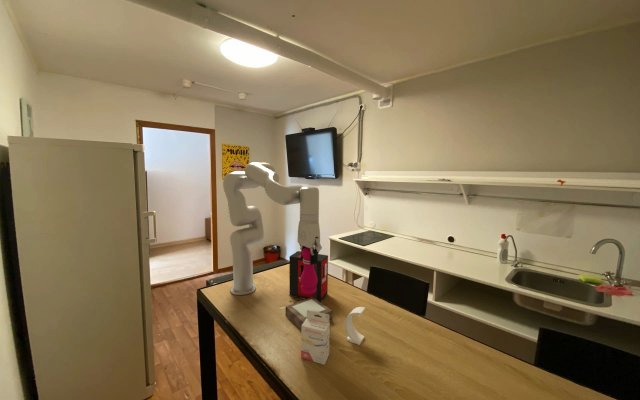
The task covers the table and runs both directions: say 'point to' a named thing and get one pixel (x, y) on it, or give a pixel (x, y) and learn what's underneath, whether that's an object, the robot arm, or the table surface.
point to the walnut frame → (299, 310)
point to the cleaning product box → (296, 271)
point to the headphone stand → (350, 330)
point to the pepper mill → (308, 273)
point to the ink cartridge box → (315, 337)
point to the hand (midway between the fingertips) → (309, 261)
